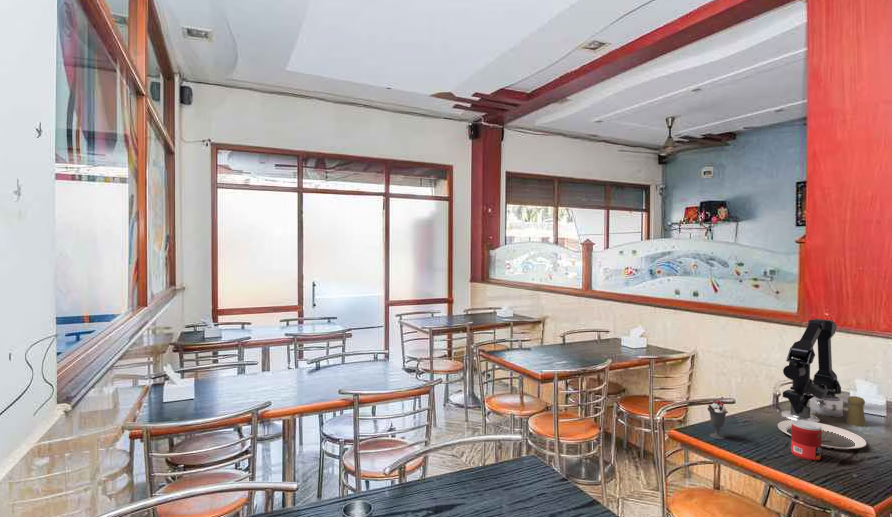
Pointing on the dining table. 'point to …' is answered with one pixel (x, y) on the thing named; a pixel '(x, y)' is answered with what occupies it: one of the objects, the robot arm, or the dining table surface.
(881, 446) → the dining table surface
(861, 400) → the cork
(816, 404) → the cooker pot
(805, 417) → the cooker lid
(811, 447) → the canned food
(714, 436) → the sundae
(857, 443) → the plate
